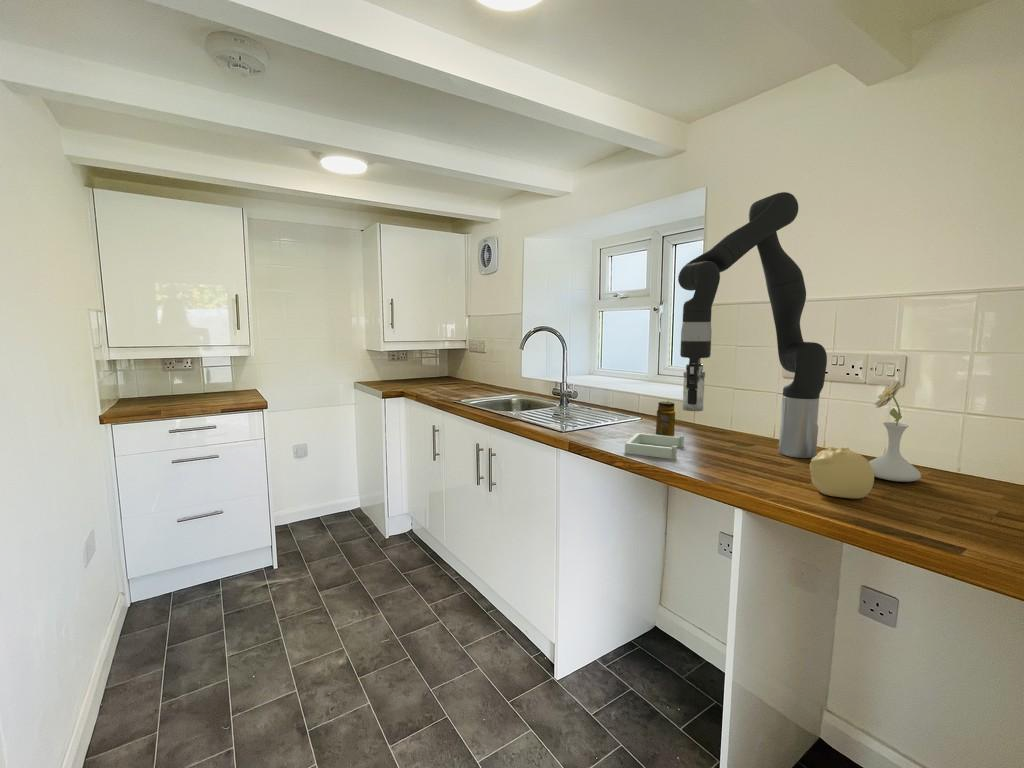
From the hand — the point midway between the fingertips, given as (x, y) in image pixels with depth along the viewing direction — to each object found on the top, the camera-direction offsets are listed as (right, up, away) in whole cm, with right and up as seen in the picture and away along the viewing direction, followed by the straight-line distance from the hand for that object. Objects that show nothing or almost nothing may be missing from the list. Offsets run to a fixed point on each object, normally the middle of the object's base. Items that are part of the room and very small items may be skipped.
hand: (693, 402), depth 127 cm
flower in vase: (+45, -19, -10) cm, 50 cm away
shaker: (0, -2, 0) cm, 2 cm away
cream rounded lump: (+25, -20, -21) cm, 38 cm away
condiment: (+3, -14, +35) cm, 38 cm away
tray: (-5, -15, +18) cm, 24 cm away
